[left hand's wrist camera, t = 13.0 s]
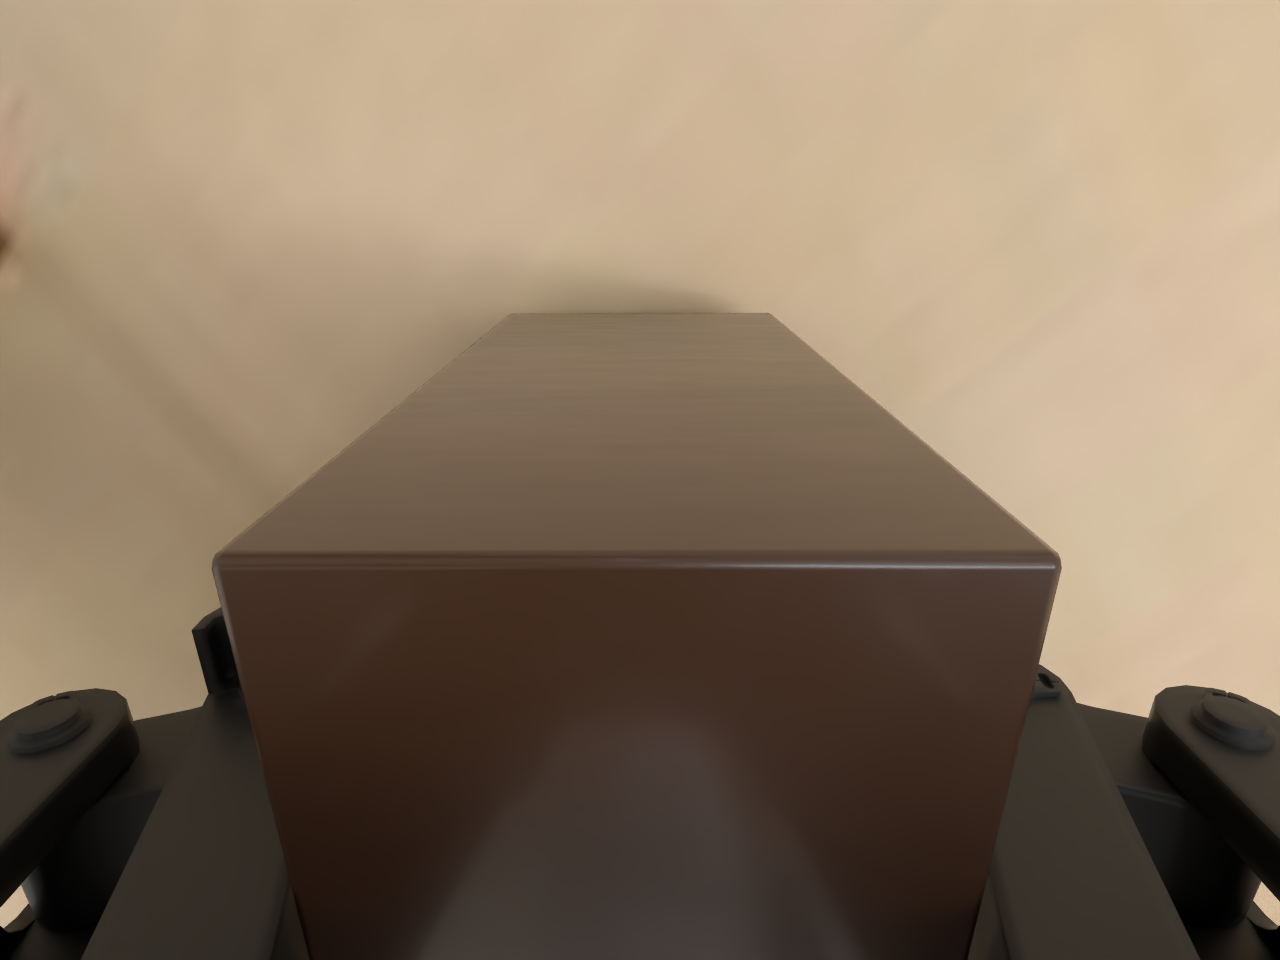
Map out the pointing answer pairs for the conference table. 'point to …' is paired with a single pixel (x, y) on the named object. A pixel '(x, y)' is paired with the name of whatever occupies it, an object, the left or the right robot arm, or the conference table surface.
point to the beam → (637, 659)
